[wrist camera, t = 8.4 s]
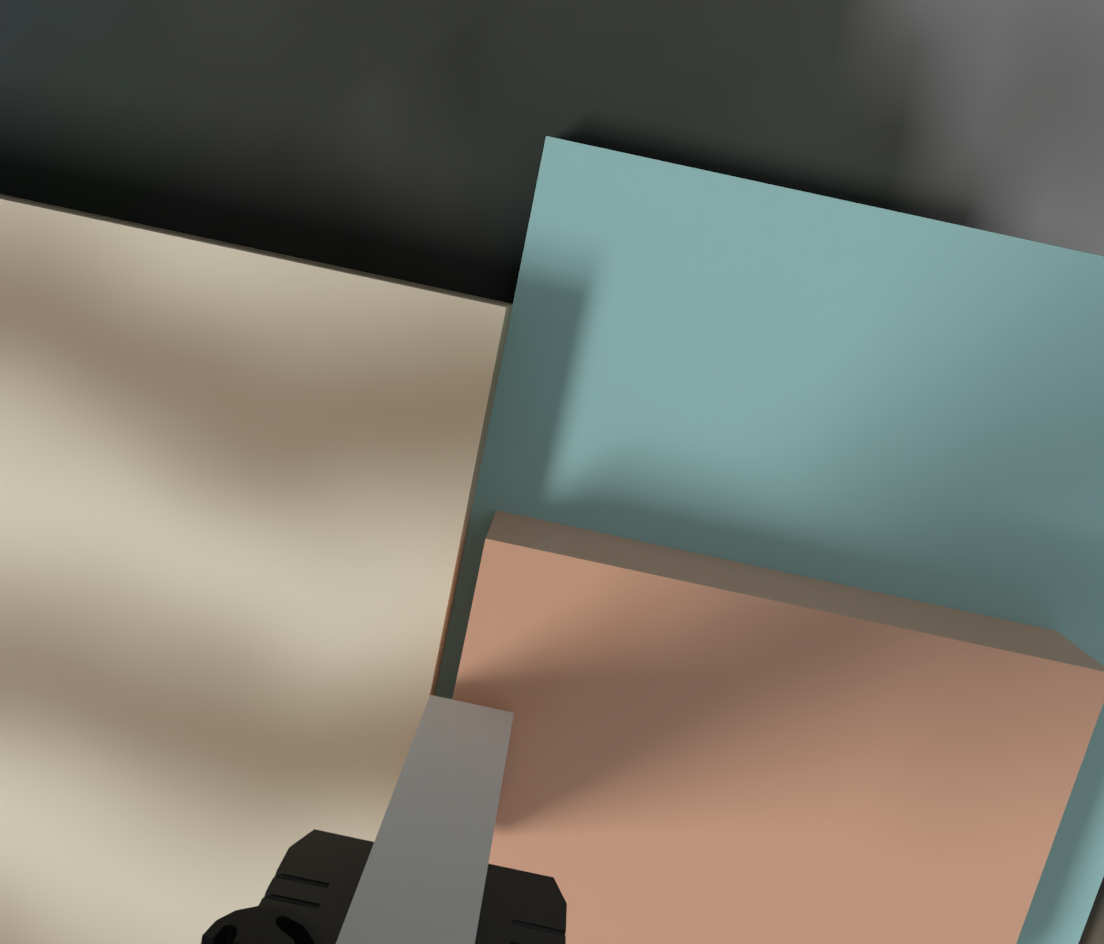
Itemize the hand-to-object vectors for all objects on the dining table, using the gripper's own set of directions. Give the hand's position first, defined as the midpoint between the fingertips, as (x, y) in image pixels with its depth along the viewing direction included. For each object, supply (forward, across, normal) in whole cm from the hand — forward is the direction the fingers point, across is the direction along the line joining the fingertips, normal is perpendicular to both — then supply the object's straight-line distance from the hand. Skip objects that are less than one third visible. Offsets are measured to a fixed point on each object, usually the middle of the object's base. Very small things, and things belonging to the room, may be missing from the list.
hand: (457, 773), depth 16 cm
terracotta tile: (+2, +5, 0) cm, 6 cm away
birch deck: (+3, -8, 0) cm, 8 cm away
